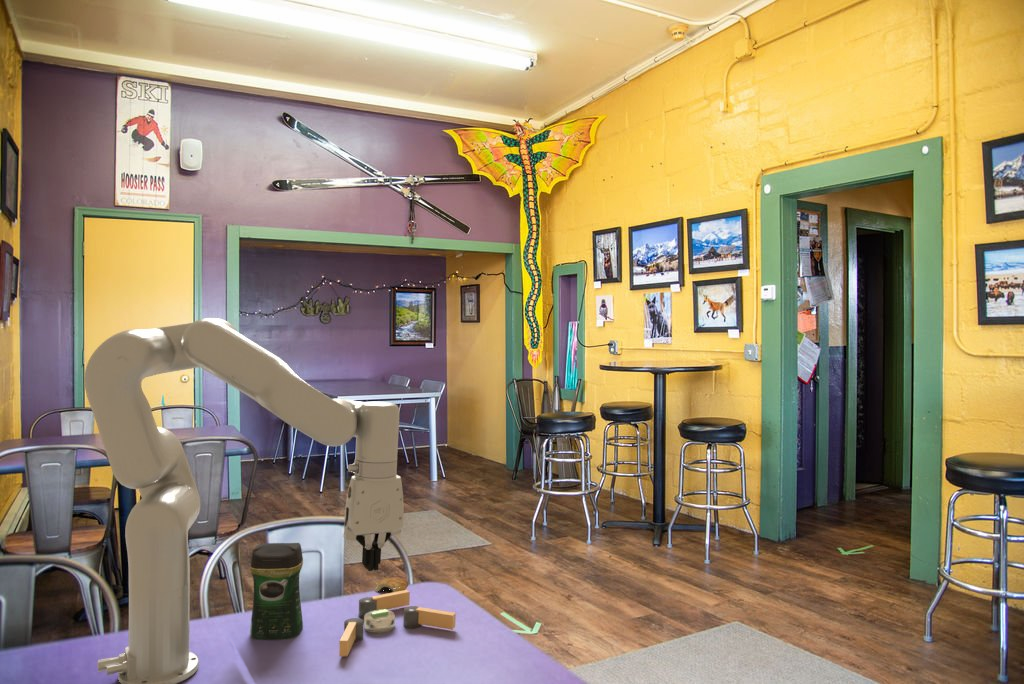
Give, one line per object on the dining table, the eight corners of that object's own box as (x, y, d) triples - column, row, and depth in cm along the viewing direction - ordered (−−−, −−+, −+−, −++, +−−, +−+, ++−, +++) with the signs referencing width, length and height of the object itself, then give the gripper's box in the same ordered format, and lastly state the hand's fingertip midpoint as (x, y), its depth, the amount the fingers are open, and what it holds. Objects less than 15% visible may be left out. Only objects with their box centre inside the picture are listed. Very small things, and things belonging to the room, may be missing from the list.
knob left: (346, 633, 139) (346, 615, 139) (364, 633, 139) (365, 616, 139) (333, 659, 129) (333, 640, 128) (353, 659, 129) (353, 640, 129)
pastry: (388, 584, 170) (388, 568, 170) (415, 588, 169) (415, 571, 168) (371, 599, 161) (371, 582, 161) (399, 603, 159) (399, 585, 159)
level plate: (350, 663, 130) (351, 638, 130) (320, 626, 146) (320, 604, 145) (440, 641, 140) (440, 618, 140) (403, 609, 155) (403, 588, 155)
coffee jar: (306, 629, 144) (307, 537, 144) (297, 647, 136) (298, 550, 136) (256, 630, 144) (257, 537, 143) (244, 648, 136) (246, 550, 135)
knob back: (362, 619, 146) (362, 603, 146) (356, 613, 149) (356, 597, 149) (411, 609, 151) (411, 593, 151) (404, 603, 154) (404, 588, 154)
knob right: (400, 626, 143) (400, 609, 143) (408, 619, 146) (408, 603, 146) (450, 635, 139) (450, 617, 139) (457, 627, 143) (457, 610, 143)
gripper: (343, 476, 125) (338, 580, 125) (421, 470, 133) (416, 569, 133) (329, 467, 131) (324, 567, 132) (405, 463, 139) (400, 557, 140)
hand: (370, 568), depth 133 cm, fingers closed
